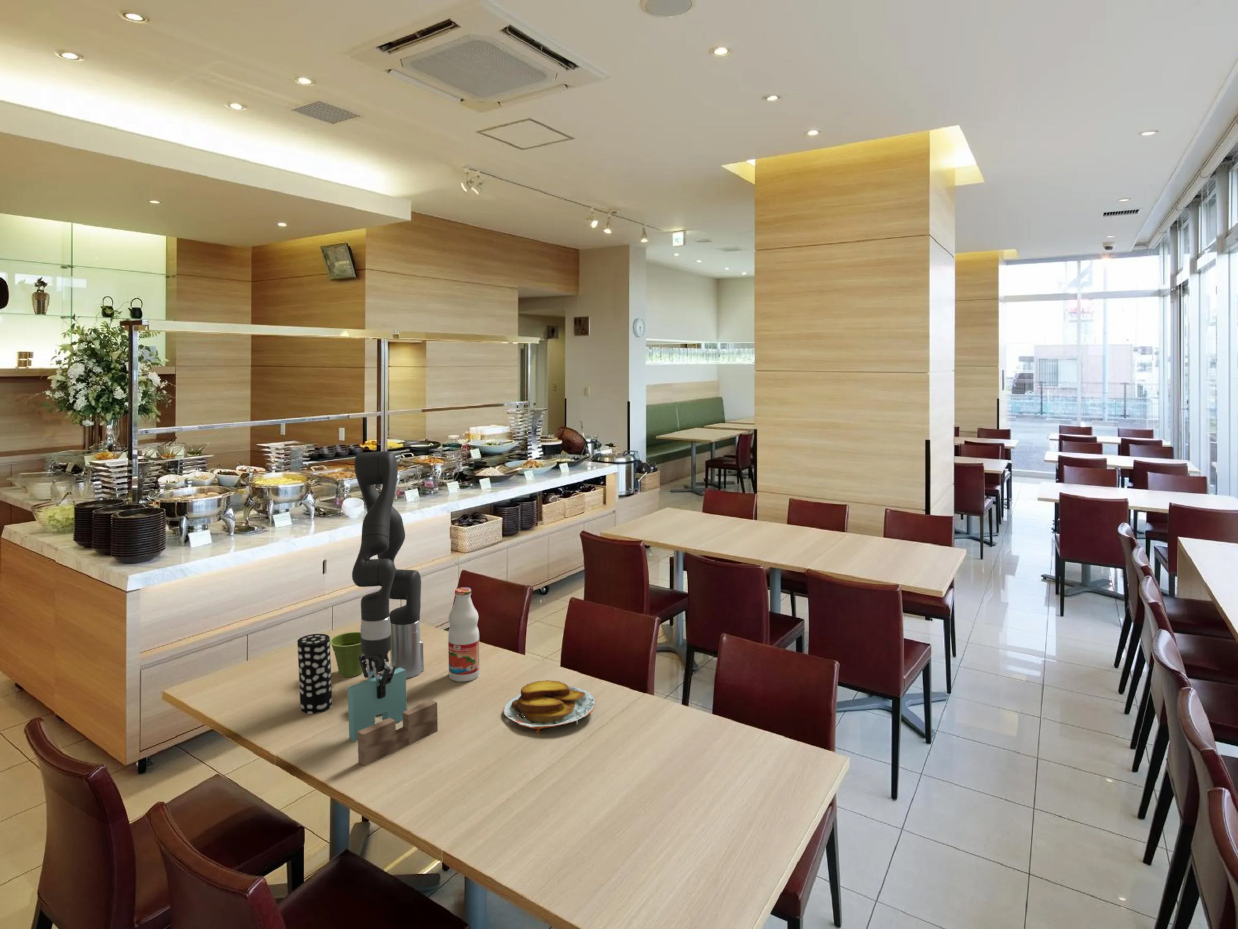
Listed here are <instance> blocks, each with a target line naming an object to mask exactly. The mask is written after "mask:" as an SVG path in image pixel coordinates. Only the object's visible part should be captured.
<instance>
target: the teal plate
mask: <svg viewBox="0 0 1238 929" xmlns="http://www.w3.org/2000/svg"><path fill="white" fill-rule="evenodd" d="M381 679H382V676H381V677H380V681H381ZM346 690H347V707H348V708H347V712H348V714H347V715H348V738H349V740H351V741H352V742H358V735H357V732H358V731H360V730H362V729H365V728H367V727H369V726H371V725H374V724H376V717H377V716H380V715H381V718H382V720H381V721H383V720H385V719H388V718H391V719H393V720H395V722H396V724H397V723H400V722H403V713H402V712H404V711H406V710H408V708H407V706H408V705H407V704H408V703H407V678H406V670H405V669H403V668H398V669H395V672H394V675H393V678H392V680H391V683H388V684H386V696H385V697H384V698H381V699H378V698H377V684H376V677H374V678H371V679H368V678H367V679H366V680H364V681H361V682H357V683H355V684H353V685H350V686H347V689H346Z"/></svg>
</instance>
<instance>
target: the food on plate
mask: <svg viewBox="0 0 1238 929" xmlns="http://www.w3.org/2000/svg"><path fill="white" fill-rule="evenodd" d="M595 698H596V697H594V696H593V694H592V693H591V692H589V691H588V690H585V689H583V688H581V687H575V686H572V685H568V684H566V683H564V682H562V681H559V680H550V679H549V680H538V681H533V682H530V683H527V684H525V685H523V686H522V687H521V688H520V694H517V695H515V696H513V697H512V698H511V699H509V700H508V702H507V703H506V704H505V706H504V707H503V715H504V716H506V717H507V718H508V719H510V720H512V722H513V721H514V722H515V723H517V724H518V725H519V726H522V727H527V728H529V729H534V730H536V731H535V732H536V734H540V733H541V732H540V730H541V729H547V728H554V727H558V726H561V725H568V724H570V723H573V722H576V725H578V724H579V721H578V720H581V719H582V718H585V717H587V716H588V715H592V714H591V713H592V712H594V709H595V707H596V702H597V701H596V700H595ZM518 713H520V714H519V715H521V717H522V716H523V717H522V718H521V717H520V716H519V715H518ZM517 715H518V716H519V717H518V716H517ZM524 716H525V717H524ZM511 727H513V725H510V728H511Z"/></svg>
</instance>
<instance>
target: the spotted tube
mask: <svg viewBox="0 0 1238 929" xmlns="http://www.w3.org/2000/svg"><path fill="white" fill-rule="evenodd" d="M330 640H331V637H330V635H329V634H325V633H312V634H307V635H304V636H301V637H299V639H297V640H296V641H297V658H298V659H297V660H298V661H297V663H298V664H297V665H298V680H299V681H298V682H299V683H298V684H299V701H300V703H299V707H300V712H301V713H304V714H308V715H312V714H320V713H324V712H326V711H328V710H329V709H331V708H332V707H333V688H332V687H333V686H332V685H333V684H332V683H333V682H332V666H331V665H332V661H331V644H330Z"/></svg>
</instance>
